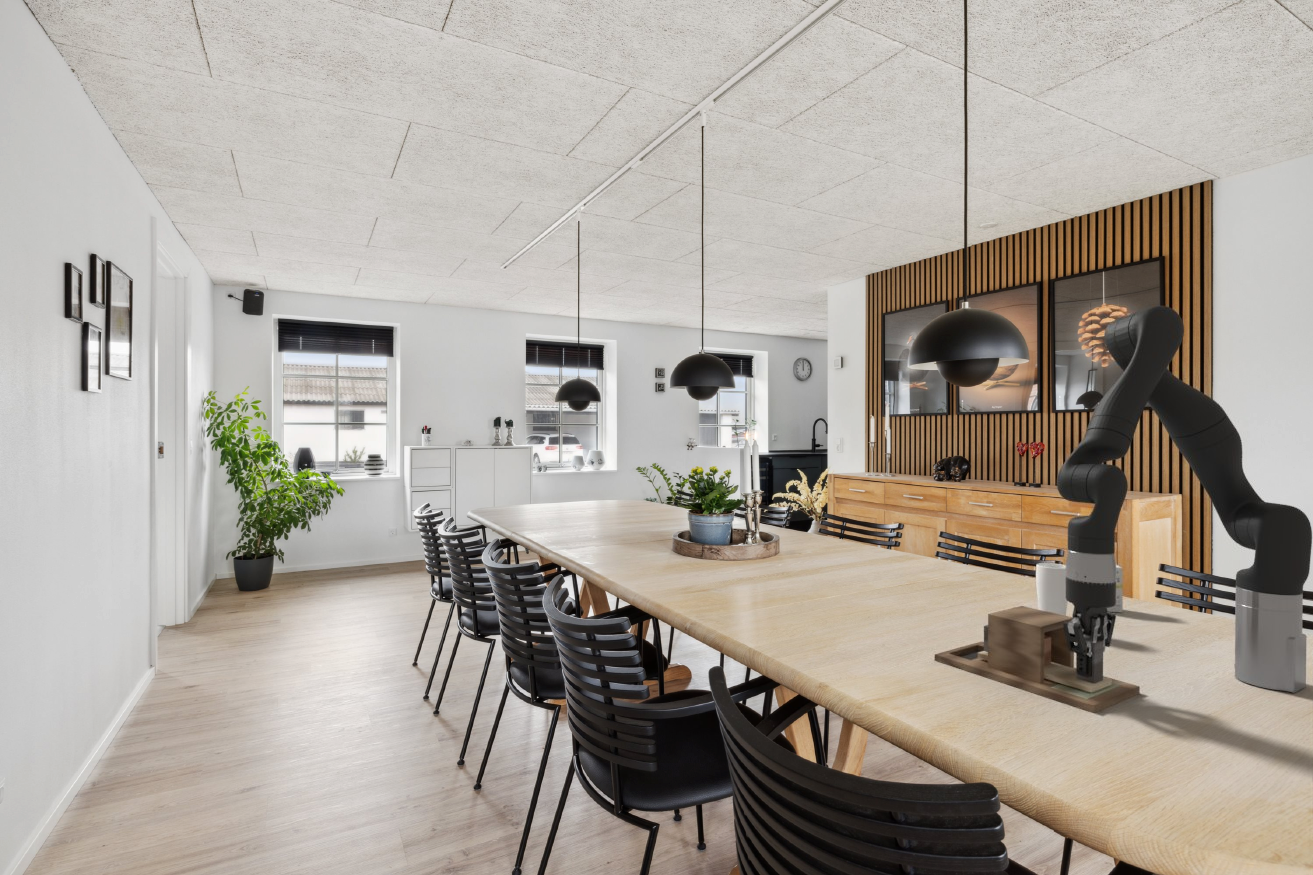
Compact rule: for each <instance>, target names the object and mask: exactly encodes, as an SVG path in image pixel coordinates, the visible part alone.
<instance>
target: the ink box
mask: <svg viewBox="0 0 1313 875" xmlns="http://www.w3.org/2000/svg"><path fill="white" fill-rule="evenodd" d="M1123 571H1124V569H1123V567H1122V566H1120V565H1118V564H1117V563H1116V604H1115V606H1113V607H1110V608H1107V611H1108V613H1123V612H1124V611H1123V610H1124V607H1123V604H1124V601H1123V598H1124V597H1123V596H1124V595H1123V593H1124V592H1123V577H1124V576H1123V575H1124V574H1123Z"/></svg>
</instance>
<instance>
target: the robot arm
mask: <svg viewBox="0 0 1313 875" xmlns="http://www.w3.org/2000/svg"><path fill="white" fill-rule="evenodd" d="M1184 334H1185V324H1184V322H1183V319H1182V317H1181V315H1180V314H1178V312H1177V311H1176V310H1174V309H1173V308H1171V307H1169V306H1167V305H1155V306H1149V307H1146V308H1142V309H1140V310H1138V311H1135V312H1133V313H1130V314H1127V315H1123V316H1122V317H1121V316H1120V317H1119V318H1117V319H1114V320H1112V321H1110V323H1108V324H1107V326H1106V327H1105V330H1104V333H1103V335H1104V343H1105V346H1106V348H1107V351H1108V353H1109V354H1110V357H1112V359H1113V360H1114V361H1115V362H1116V363H1115V364H1116V365H1118V367H1119V368H1120V369H1121V371H1123V373H1122V374H1121V376H1120V377H1119V378H1118V379H1117V380H1116V381H1115V383H1113V385H1112V386H1111V387H1110V389H1109V390H1108V391H1107V392H1106V393H1105V394H1104V395H1103V397H1102V398H1101V399H1100V400H1099V402H1098V404H1097V405H1096V407H1095V409H1094V411H1093V413H1092V415H1091V417H1090V420H1089V423H1088V425H1087V428H1086V431H1085V434H1084V436H1083V439H1081V441H1080V442H1079V443H1078V444H1077V446H1076V447H1075V448H1074V450H1073V451H1072V452H1071V454H1070V455H1069V456H1068V458H1067V459H1066V460H1065V461H1064V463H1063V464H1062V465H1061V467H1060V469H1059V471H1058V474H1057V476H1056V477H1057V478H1056V488H1057V491H1058V494H1059V495H1060V497H1062V498H1063V499H1065V500H1066V501H1067V502H1072V503H1080V504H1081V503H1084V504H1092V505H1094V506H1093V508H1092V511H1091V512H1090V514H1089V515H1081V516H1074V517H1072V518H1070V519H1069V521H1068V523H1067V552H1066V558H1065V565H1066V600H1067V601H1068V602H1067V603H1071V604H1072V605H1073V610H1072V616H1071V617H1073V619H1072V621H1071V622H1068V621H1064V623H1063V627H1064V631H1065V635H1066V639H1067V643H1068V648H1069V651H1072V652H1074V654H1075V655H1076V654H1077V674H1078V675H1080V676H1084V677H1087V678H1088V677H1091V676H1092V651H1093V644H1094V643H1096V642H1097V639H1098V640H1102V641H1103V653H1105V652H1106V648H1110V646H1111V643H1112V642H1111V641H1112V638H1113V633H1114V629H1115V623H1116V619H1117V616H1116V614H1114V613H1111V612H1108V611H1107V608H1110V607H1113V606H1115V604H1116V564H1117V561H1116V556H1115V555H1116V554H1115V545H1116V544H1115V542H1116V541H1115V540H1116V535H1115V533H1116V532H1115V531H1116V529H1117V528H1116V527H1117V524H1118V521H1119V517H1120V514H1121V511H1122V508H1123V505H1124V502H1125V500H1126V497H1127V493H1128V489H1129V483H1128V478H1127V476H1126V474H1125V472H1124V471H1123V470H1122V469H1121V468H1120V467H1118V465H1117V466H1116V465H1114V464H1109V463H1107V462H1111V461H1115V460H1119V459H1122V458H1124V457H1125V456H1126V455H1127V453H1128V451H1129V449H1130V446H1131V444H1132V441H1133V438H1134V435H1135V433H1136V430H1137V428H1138V424H1139V422H1140V420H1141V419H1140V418H1141V417H1142V414H1143V411H1144V410H1145V408H1146V405H1147V403H1148V406H1150V408H1151V409H1152V410H1153V411H1154V413H1155V414H1156V416H1157V417H1158V420H1159V421H1160V422H1161V423H1162V425H1163V427H1164V428H1165V430H1166V432H1167V434H1168V436H1169V437H1170V438H1171V440H1172V442H1173V443H1174V445H1175V446H1176V448H1177V449H1178V451H1179V452H1180V454H1182V456H1183V457H1184V459H1185V461H1187V464H1188V465H1189V467H1190V468H1191V470H1192V472H1193V473H1194V475H1195V476H1196V478H1197V479H1198V481H1199V482H1200V484H1201V485H1202V487H1203V488H1204V490H1205V492H1206V493H1207V496H1208V498H1209V499H1210V501H1211V503H1212V505H1213V507H1214V510H1215V511H1216V513H1217V515H1218V517H1219V520H1220V521H1221V523H1222V526H1223V527H1224V529H1225V531H1226V533H1227V534H1228V536H1229V537H1230V538H1231V539H1232V540H1233V541H1234V542H1235V543H1236V544H1237V545H1239V546H1241V547H1243V548H1246V549H1249V550H1253V551H1255V552H1254V561H1253V564H1252V565H1251V566H1250V567H1249V568H1242V569H1240V570H1238V571H1237V572H1236V574H1235V608H1234V610H1235V614H1234V617H1235V620H1234V626H1235V627H1234V677H1235V679H1237V680H1239V681H1241V682H1243V683H1246V684H1248V685H1253V686H1255V687H1258V688H1263V689H1269V690H1276V691H1284V692H1288V693H1289V692H1290V693H1298V691H1300V690H1302V689H1304V688H1305V687H1306V686H1307V635H1306V633H1303V609H1304V608H1303V605H1304V604H1303V602H1304V601H1303V599H1304V597H1303V596H1304V595H1303V593H1304V585H1305V583H1306V582H1307V580H1308V578H1309V575H1310V570H1311V568H1310V567H1311V559H1312V558H1311V556H1312V547H1313V546H1312V544H1313V531H1312V525H1311V521H1310V520H1309V517H1308V516H1307V515H1306V513H1305V512H1303V511H1302V510H1301V509H1300V508H1298V507H1296V506H1292V505H1288V504H1284V503H1283V504H1282V503H1276V502H1267V501H1264V500H1263V499H1262V497H1260V495H1258V493H1257V492H1256V490H1255V489H1254V487H1253V485H1252V484H1251V483H1250V482H1249V480H1248V478H1247V476H1246V474H1245V472H1244V468H1243V442H1242V438H1241V436H1240V433H1239V431H1238V429H1237V428H1236V426H1235V425H1234V423H1233V422H1232V420H1231V419H1230V417H1229V416H1228V414H1227V413H1226V411H1225V410H1224V408H1223V407H1222V406H1221V405H1220V404H1219V403H1218V402H1217V401H1215V400H1214V399H1212V398H1211V397H1210V396H1209V395H1207V394H1205V393H1204V392H1202V391H1200V390H1198V389H1197V388H1195V387H1193V386H1191V385H1190V384H1188V383H1186V382H1184V381H1183V380H1181V379H1179V377H1177V376H1175V375H1174V374H1173V372H1171V371H1170V370H1169V369H1168V367H1169V365H1170V364H1171V362H1172V360H1173V358H1174V357H1175V355H1176V354H1177V352H1178V351H1179V348H1180V346H1181V345H1182V342H1183V338H1184ZM1105 463H1106V464H1105ZM1088 637H1089V638H1088ZM1085 642H1086V643H1087V647H1086V644H1085Z"/></svg>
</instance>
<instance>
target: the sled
mask: <svg viewBox="0 0 1313 875" xmlns="http://www.w3.org/2000/svg"><path fill="white" fill-rule="evenodd" d="M1088 638H1089V637H1088ZM983 642H984V651H982V652H978V658H980V659H984V660H987V661H988V624H986V625H984V626H983ZM1085 644H1086V647H1087V643H1086V642H1085ZM1075 655H1076V656H1075V657H1076V659H1075V660H1076V661H1075V662H1076V663H1075V667H1074V668H1071V667H1068V666H1064V665H1061V664H1057V663H1054V662H1051V637H1049V636H1045V635H1044V678H1045V679H1048V680H1052V681H1055V682H1058V683H1061V684H1065V685H1068V686H1071V687H1074V688H1078V689H1081V690H1084V691H1087V692H1091V693H1092V692H1095V691H1097V690H1100V689H1102V688H1105V687H1107V686H1110V685H1112V679H1113V678H1112V679H1110V678H1111V677H1108V678H1106V677H1107V676H1105V677H1103V676H1104V652H1103V641H1102V640H1098V639H1097V642H1096V643H1094V644H1093V651H1092V676H1091V677H1088V678H1087V677H1084V676H1080V675H1078V674H1077V654H1076V653H1075ZM1075 668H1076V669H1075Z"/></svg>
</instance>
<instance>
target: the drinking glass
mask: <svg viewBox="0 0 1313 875" xmlns="http://www.w3.org/2000/svg"><path fill="white" fill-rule="evenodd" d="M1035 585H1036V598H1037V609H1038V610H1042V611H1047V612H1051V613H1056V614H1060V615H1064V616H1067V609H1068V603H1069V602H1068V601H1067V600H1066V564H1059V563H1053V562H1040V563H1036V566H1035Z"/></svg>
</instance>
